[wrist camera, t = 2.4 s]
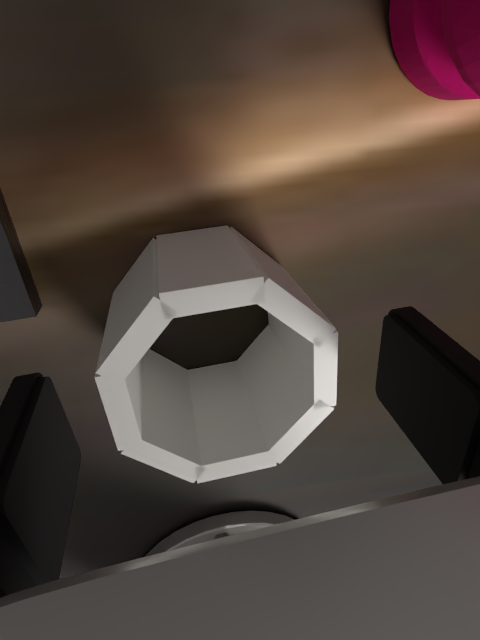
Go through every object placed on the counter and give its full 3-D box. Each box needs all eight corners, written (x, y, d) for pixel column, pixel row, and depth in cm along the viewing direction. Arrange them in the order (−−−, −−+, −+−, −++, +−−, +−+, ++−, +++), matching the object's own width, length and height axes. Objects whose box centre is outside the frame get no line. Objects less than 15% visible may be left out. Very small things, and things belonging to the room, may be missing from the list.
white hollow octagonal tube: (286, 364, 20) (334, 452, 15) (138, 393, 19) (133, 498, 14) (280, 217, 17) (340, 264, 11) (98, 243, 16) (71, 307, 10)
